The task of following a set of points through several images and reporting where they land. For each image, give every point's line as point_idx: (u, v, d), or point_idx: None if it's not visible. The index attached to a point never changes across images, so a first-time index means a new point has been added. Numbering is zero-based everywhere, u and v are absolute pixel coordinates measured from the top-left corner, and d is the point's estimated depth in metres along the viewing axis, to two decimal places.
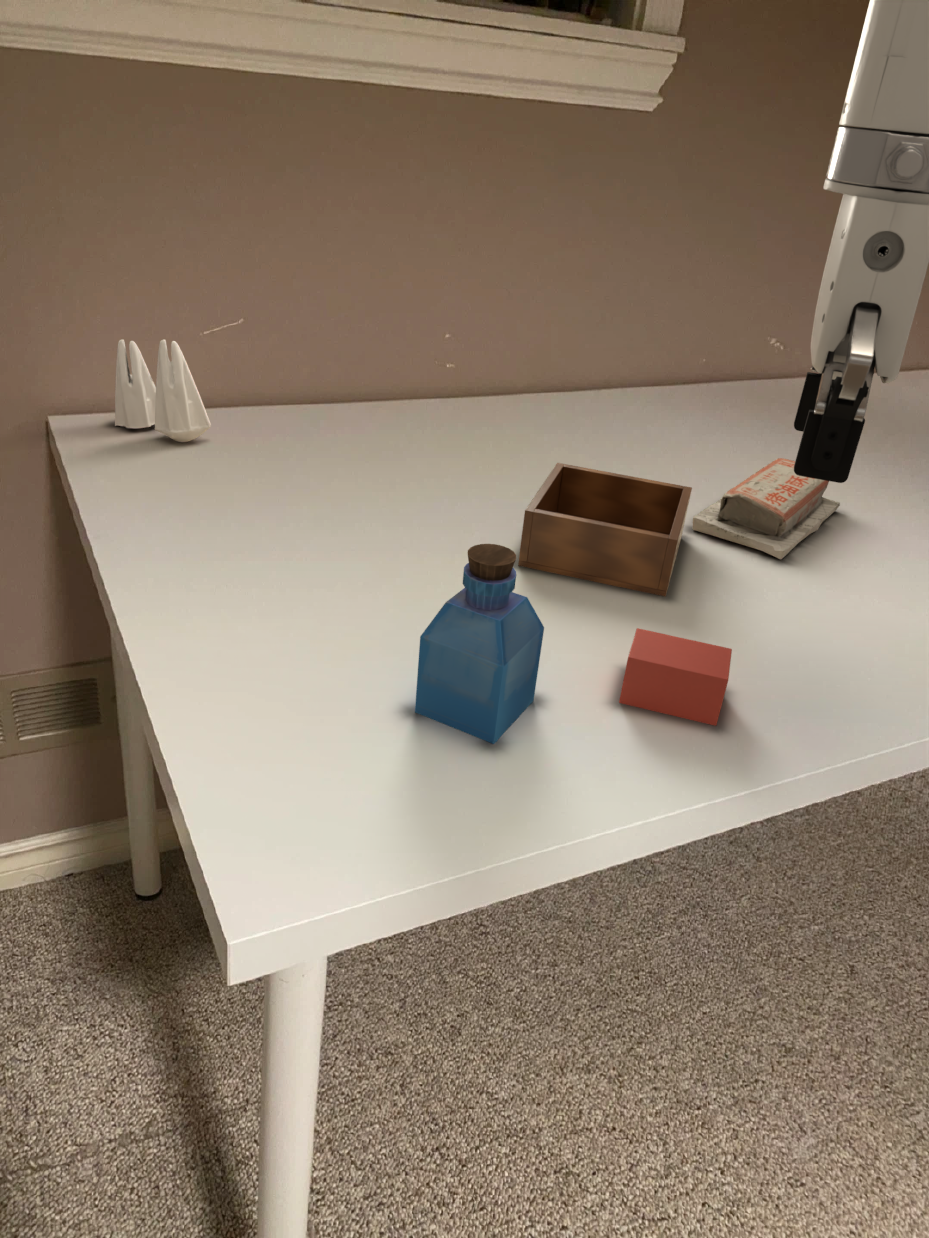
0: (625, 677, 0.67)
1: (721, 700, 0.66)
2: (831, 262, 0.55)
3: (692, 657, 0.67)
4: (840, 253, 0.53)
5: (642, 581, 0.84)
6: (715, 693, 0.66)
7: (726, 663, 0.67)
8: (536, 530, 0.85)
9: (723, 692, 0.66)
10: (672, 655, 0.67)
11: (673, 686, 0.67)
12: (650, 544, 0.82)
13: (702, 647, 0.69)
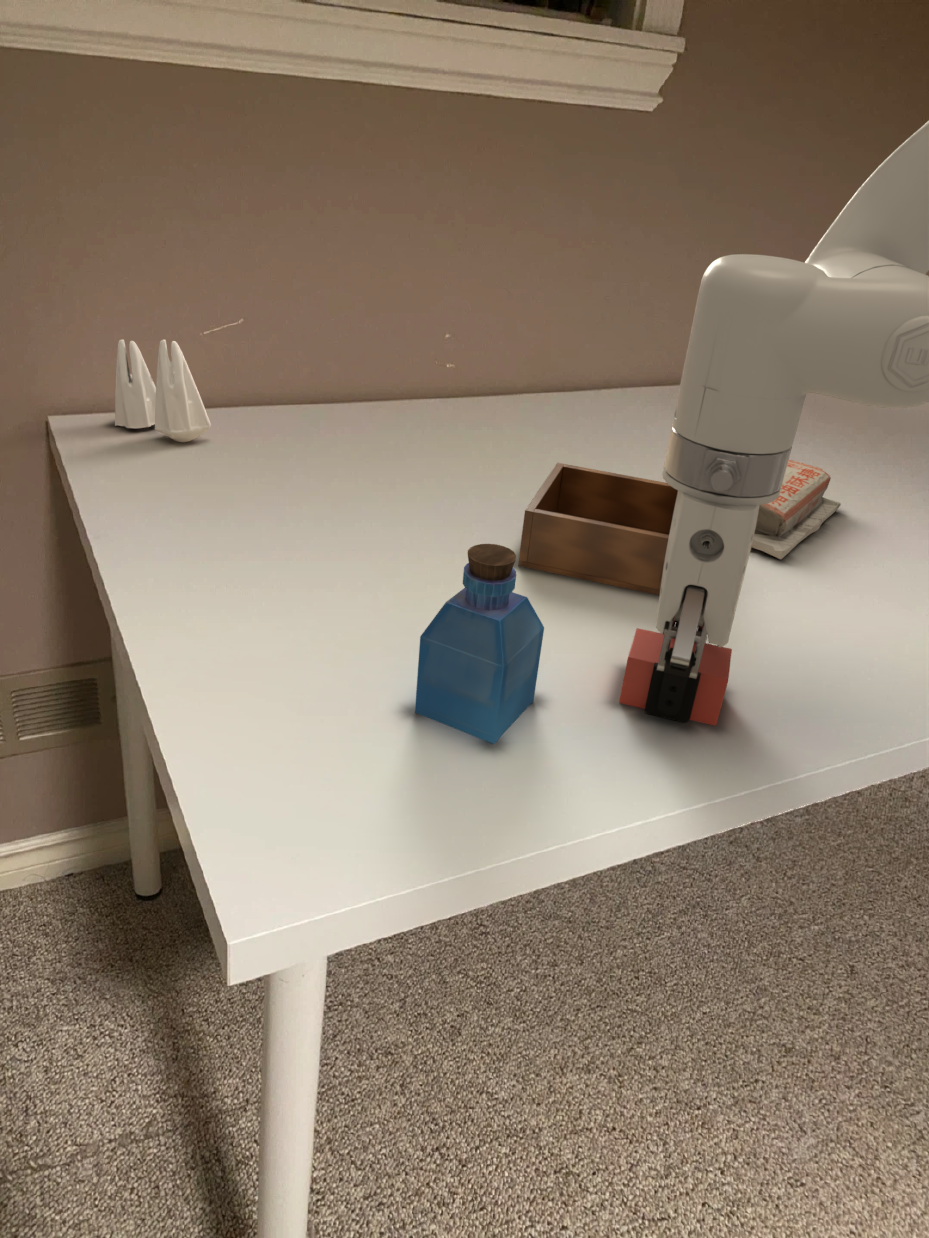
0: (625, 677, 0.67)
1: (721, 700, 0.66)
2: (668, 540, 0.62)
3: None
4: (672, 540, 0.60)
5: (642, 581, 0.84)
6: (715, 693, 0.66)
7: (726, 663, 0.67)
8: (536, 530, 0.85)
9: (723, 692, 0.66)
10: None
11: None
12: (650, 544, 0.82)
13: None
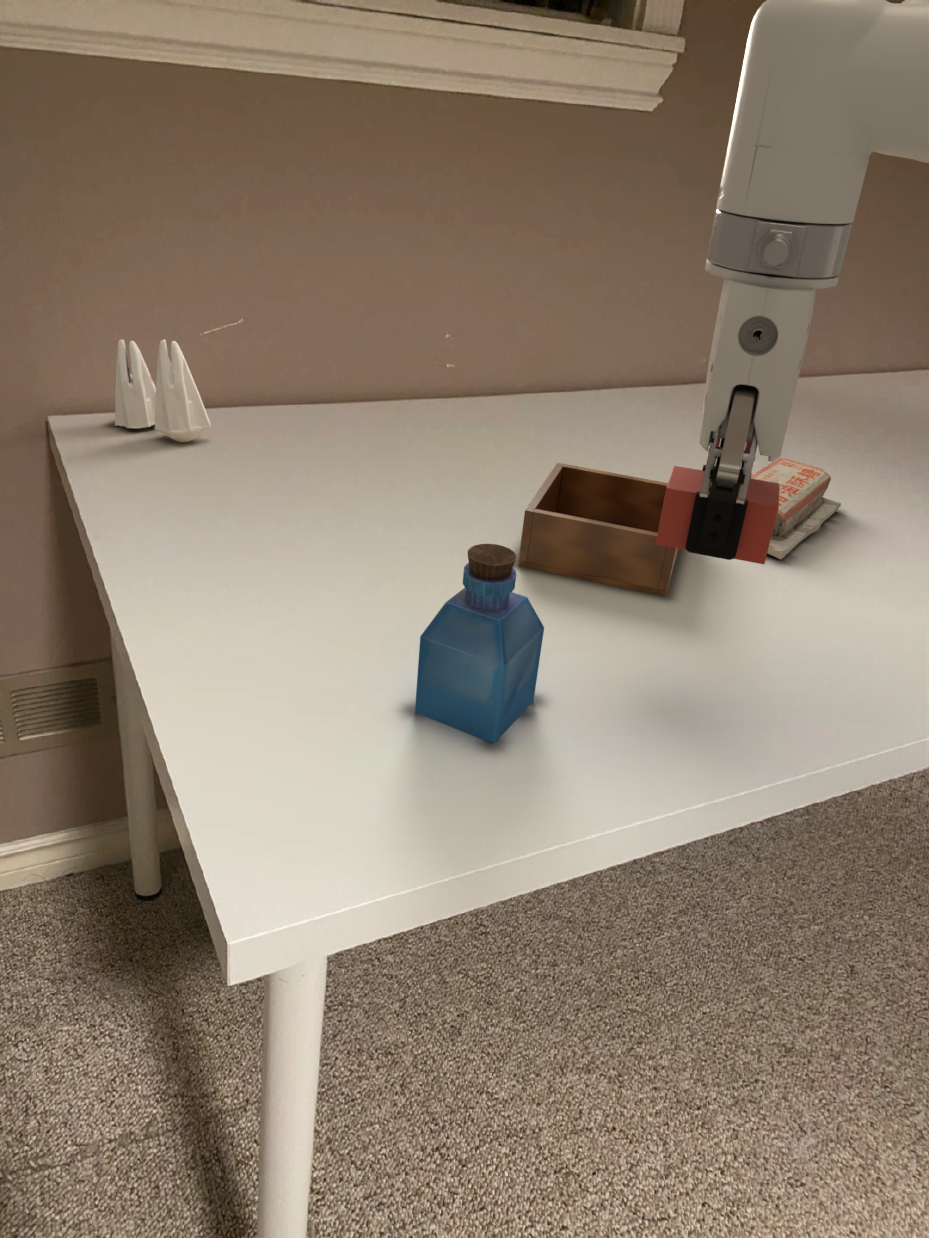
0: (663, 512, 0.61)
1: (770, 532, 0.60)
2: (713, 342, 0.55)
3: None
4: (718, 336, 0.54)
5: (642, 581, 0.84)
6: (764, 524, 0.60)
7: (774, 494, 0.61)
8: (536, 530, 0.85)
9: (773, 523, 0.59)
10: None
11: None
12: (650, 544, 0.82)
13: None
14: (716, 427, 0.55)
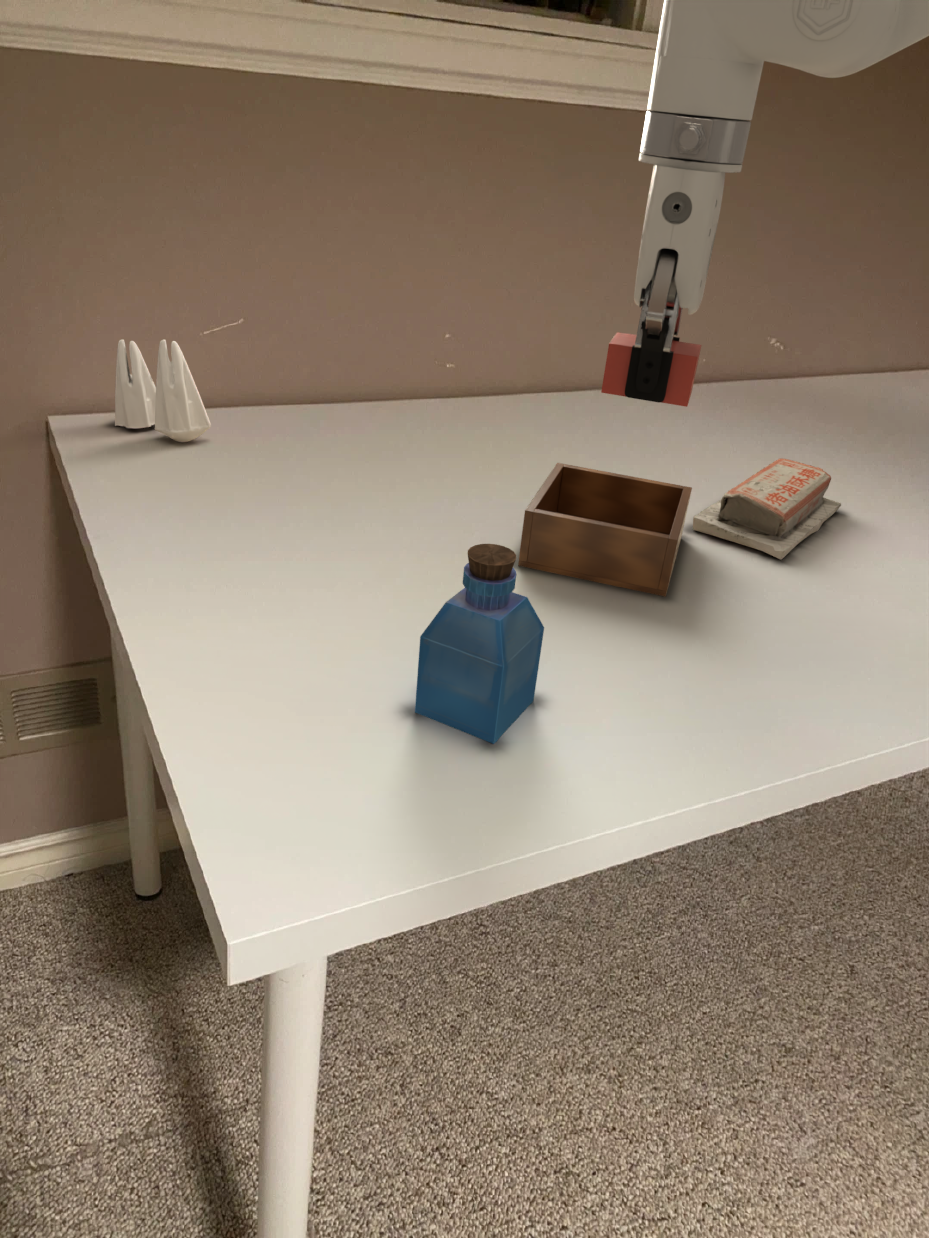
0: (606, 364, 0.76)
1: (691, 379, 0.74)
2: (644, 218, 0.70)
3: None
4: (647, 210, 0.68)
5: (642, 581, 0.84)
6: (686, 372, 0.74)
7: (696, 350, 0.75)
8: (536, 530, 0.85)
9: (693, 370, 0.74)
10: None
11: None
12: (650, 544, 0.82)
13: (675, 343, 0.77)
14: (646, 285, 0.70)
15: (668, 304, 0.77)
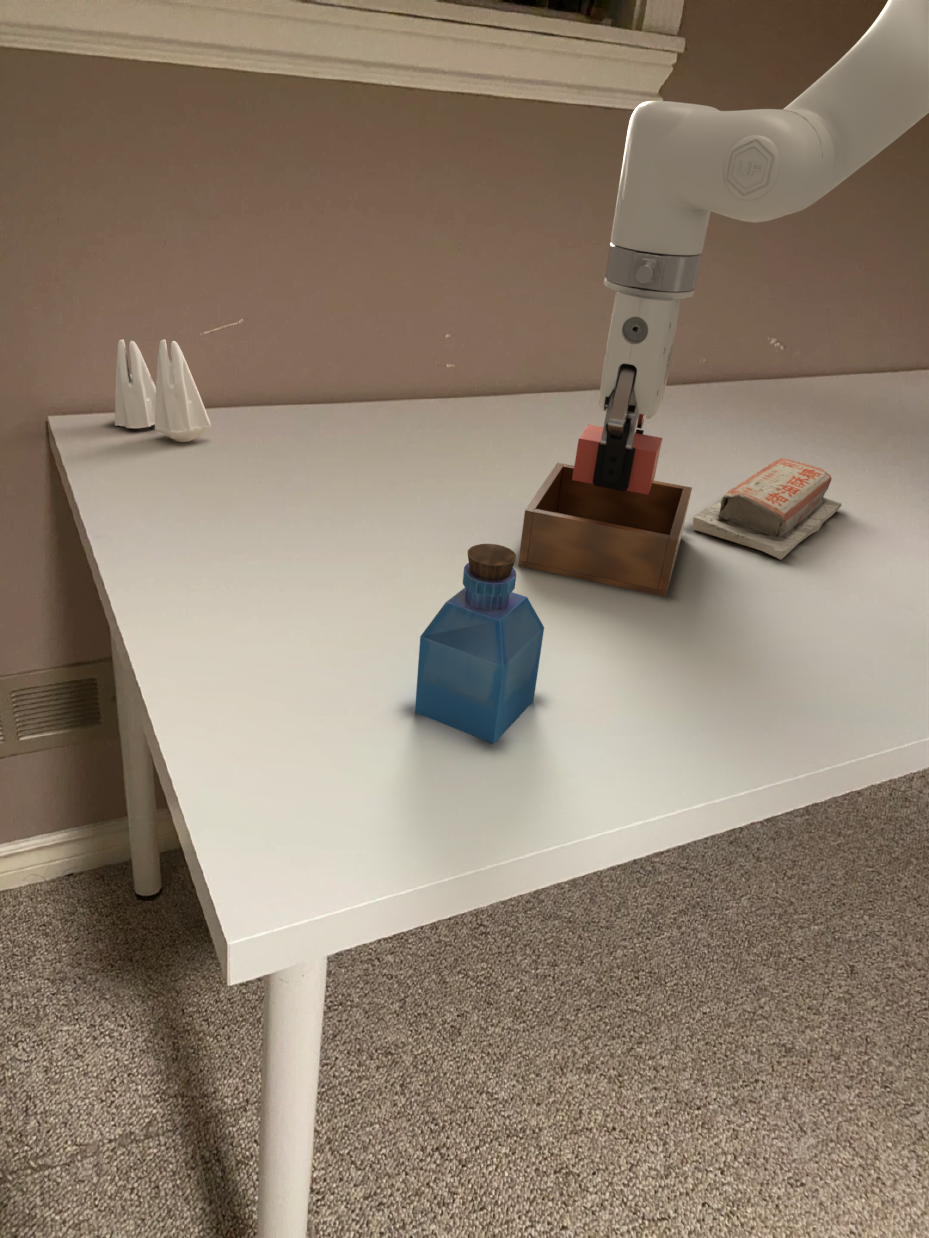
0: (576, 456, 0.85)
1: (651, 471, 0.84)
2: None
3: None
4: (609, 330, 0.78)
5: (642, 581, 0.84)
6: (647, 465, 0.84)
7: (656, 444, 0.85)
8: (536, 530, 0.85)
9: (653, 464, 0.83)
10: None
11: None
12: (650, 544, 0.82)
13: (638, 436, 0.86)
14: (609, 393, 0.79)
15: None
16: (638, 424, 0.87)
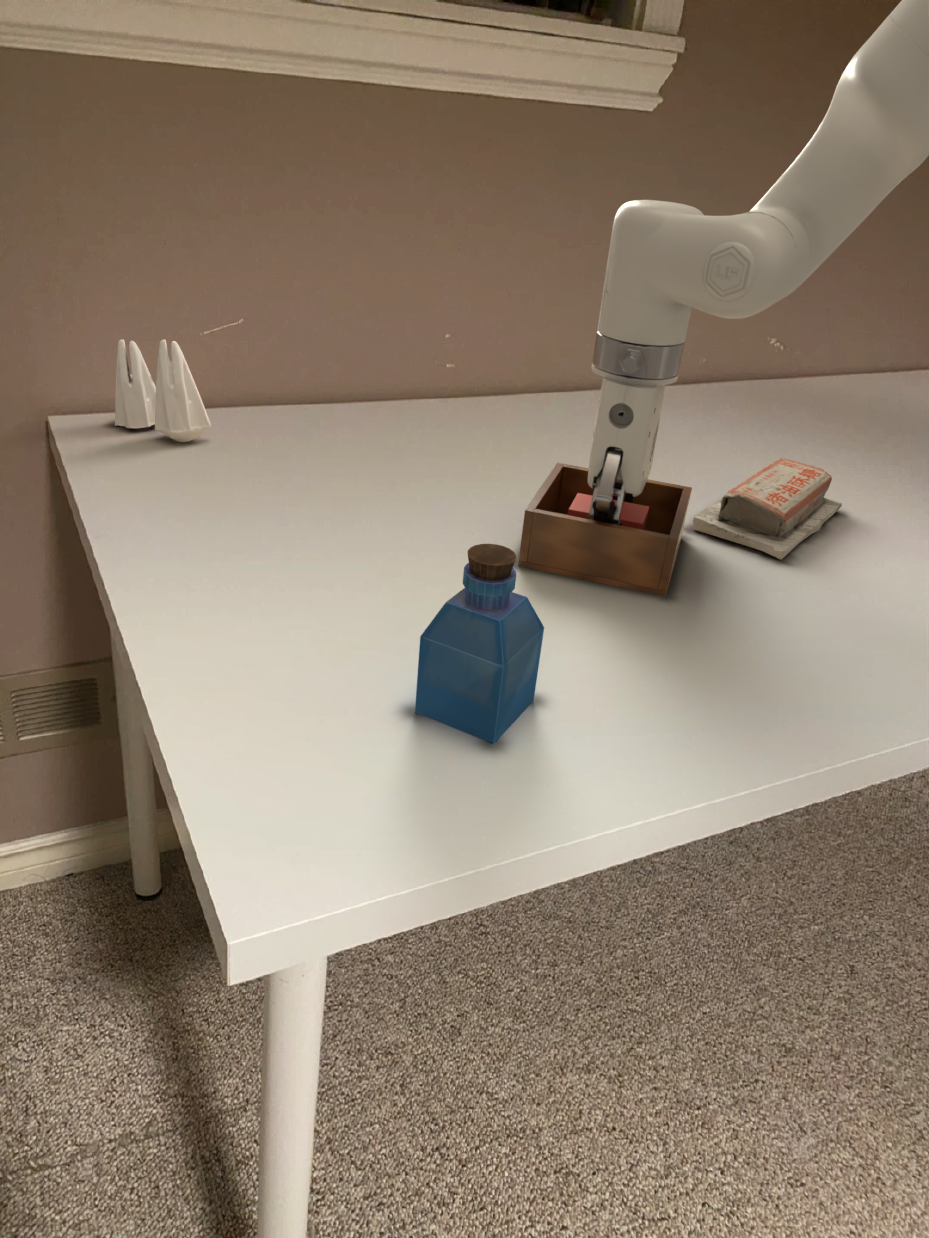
0: None
1: None
2: None
3: None
4: (597, 414, 0.81)
5: (642, 581, 0.84)
6: None
7: (643, 514, 0.88)
8: (536, 530, 0.85)
9: None
10: None
11: None
12: (650, 544, 0.82)
13: (626, 505, 0.90)
14: (597, 473, 0.82)
15: None
16: None
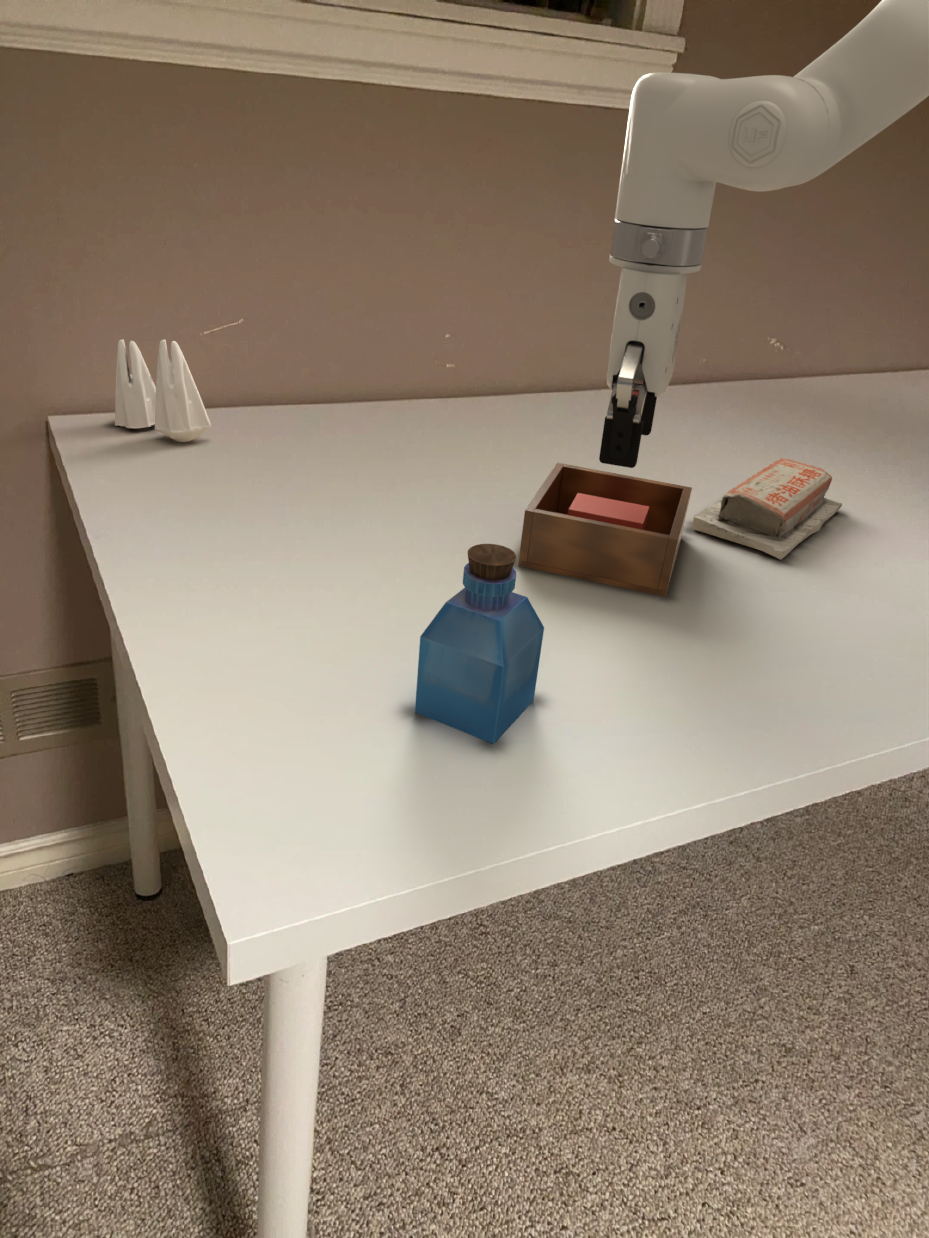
0: None
1: None
2: None
3: (618, 510, 0.88)
4: (616, 307, 0.77)
5: (642, 581, 0.84)
6: None
7: (643, 514, 0.88)
8: (536, 530, 0.85)
9: None
10: (602, 508, 0.89)
11: None
12: (650, 544, 0.82)
13: (626, 505, 0.90)
14: (616, 372, 0.78)
15: None
16: None
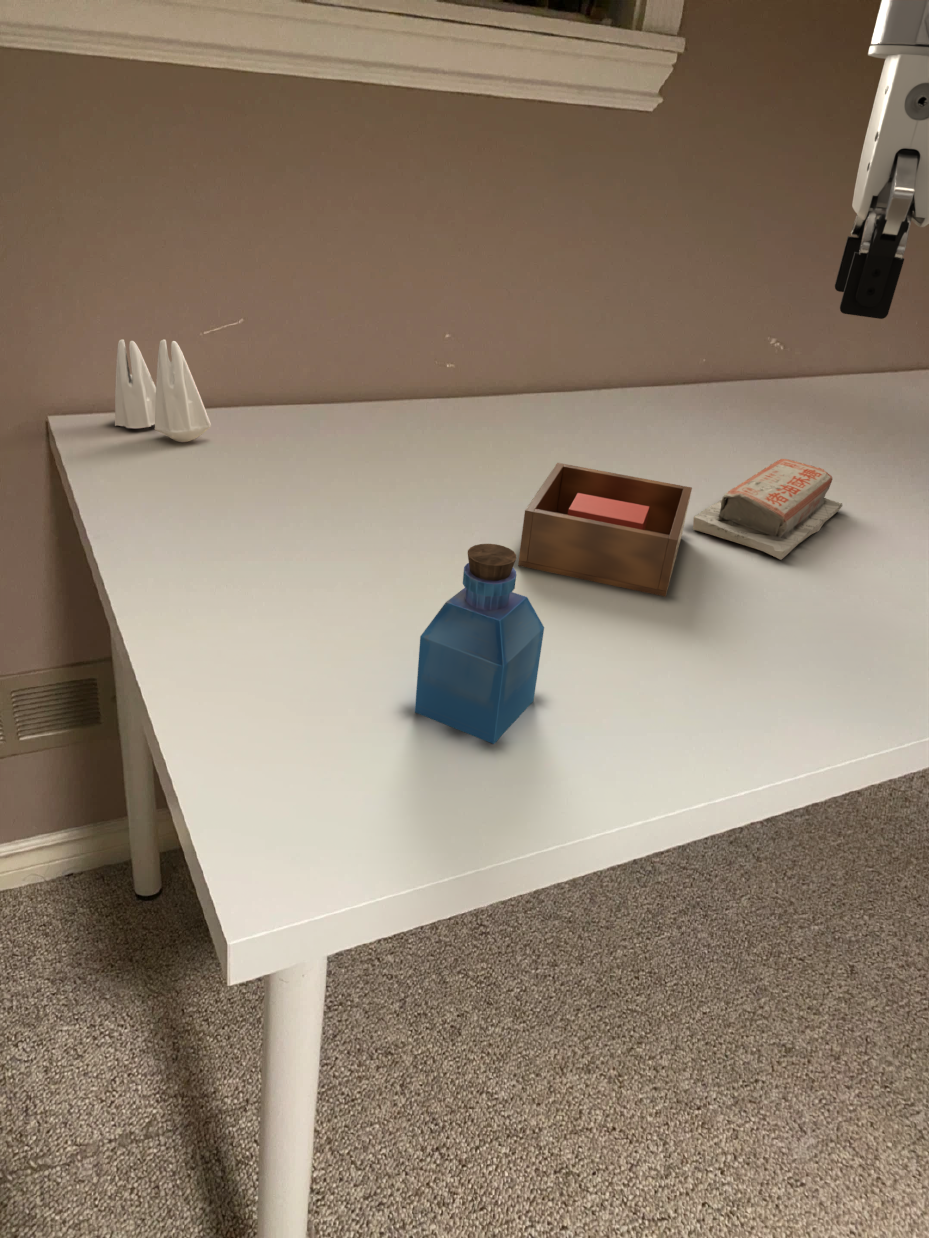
0: None
1: None
2: (875, 118, 0.63)
3: (618, 510, 0.88)
4: (884, 106, 0.61)
5: (642, 581, 0.84)
6: None
7: (643, 514, 0.88)
8: (536, 530, 0.85)
9: None
10: (602, 508, 0.89)
11: None
12: (650, 544, 0.82)
13: (626, 505, 0.90)
14: (878, 191, 0.63)
15: None
16: None
